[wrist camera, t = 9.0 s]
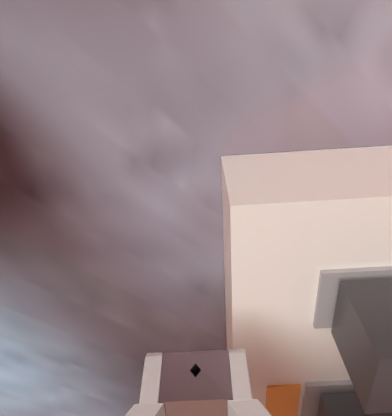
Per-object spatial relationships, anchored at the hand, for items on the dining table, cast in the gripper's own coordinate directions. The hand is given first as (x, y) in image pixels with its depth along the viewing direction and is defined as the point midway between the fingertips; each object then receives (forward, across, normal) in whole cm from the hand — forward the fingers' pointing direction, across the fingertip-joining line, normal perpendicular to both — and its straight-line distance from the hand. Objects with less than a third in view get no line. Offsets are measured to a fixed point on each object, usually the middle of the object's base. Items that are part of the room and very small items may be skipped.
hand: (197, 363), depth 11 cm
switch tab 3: (+2, -6, 0) cm, 7 cm away
